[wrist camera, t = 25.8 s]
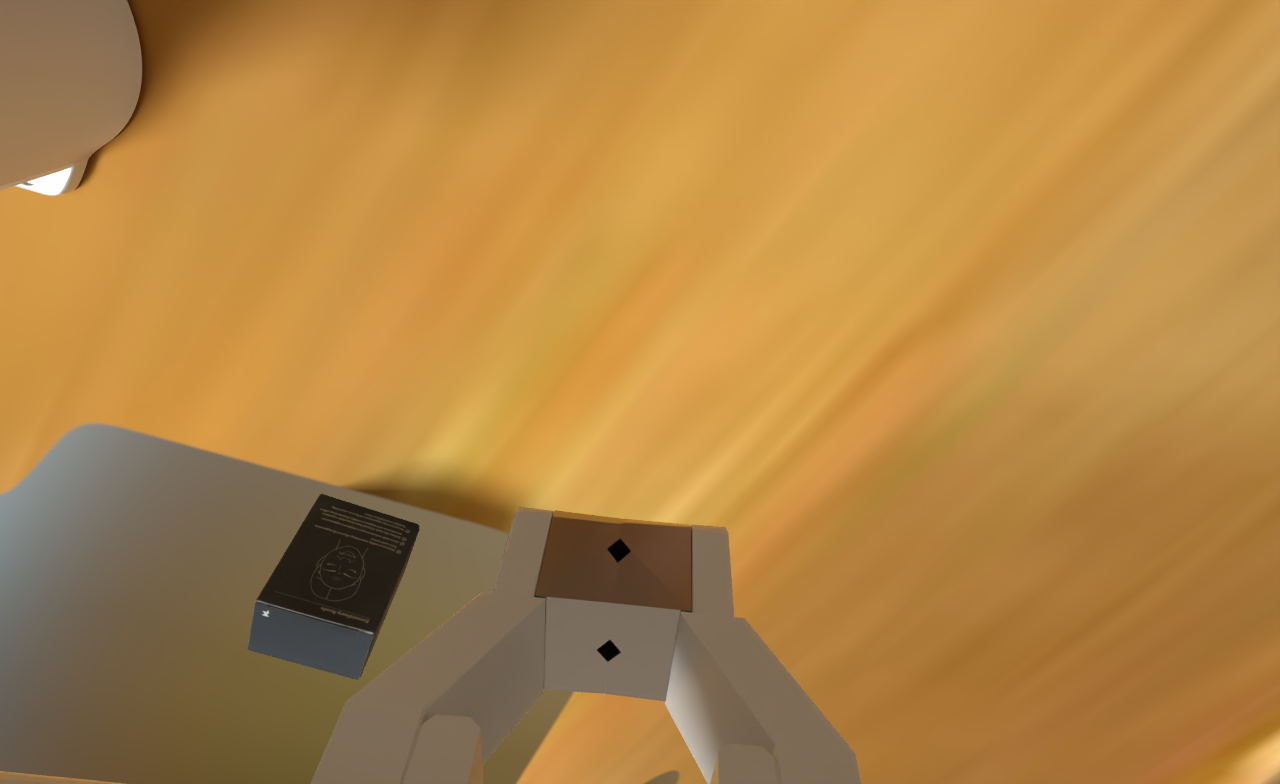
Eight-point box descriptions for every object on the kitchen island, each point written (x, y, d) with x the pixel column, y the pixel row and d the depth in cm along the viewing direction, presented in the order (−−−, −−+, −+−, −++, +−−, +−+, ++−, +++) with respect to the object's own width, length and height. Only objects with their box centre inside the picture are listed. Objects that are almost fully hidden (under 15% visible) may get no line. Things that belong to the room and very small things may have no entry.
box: (309, 540, 59) (243, 651, 51) (321, 490, 56) (253, 599, 48) (406, 570, 61) (358, 684, 52) (422, 523, 58) (374, 635, 49)
